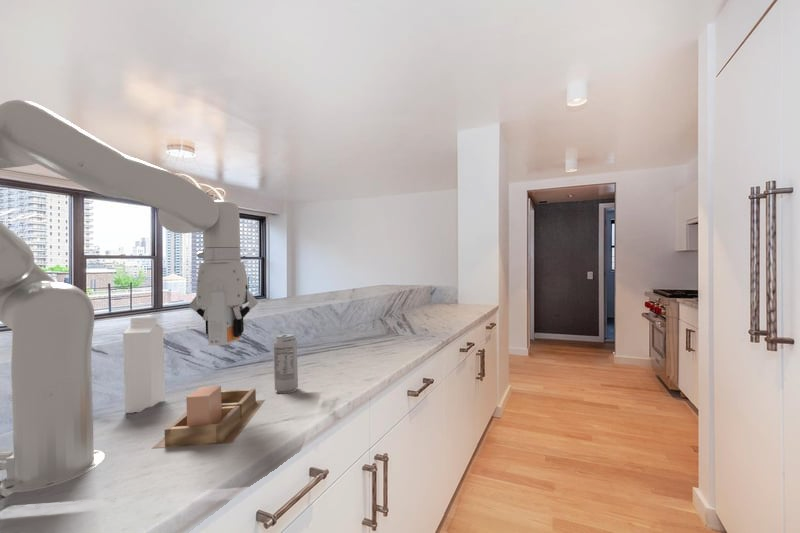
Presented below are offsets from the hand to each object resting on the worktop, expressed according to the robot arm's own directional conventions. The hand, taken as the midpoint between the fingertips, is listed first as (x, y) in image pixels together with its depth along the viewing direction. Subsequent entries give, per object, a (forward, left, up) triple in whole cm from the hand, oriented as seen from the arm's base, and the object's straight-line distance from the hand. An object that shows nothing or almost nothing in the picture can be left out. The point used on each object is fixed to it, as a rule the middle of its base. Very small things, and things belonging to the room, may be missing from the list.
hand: (225, 335), depth 84 cm
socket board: (0, -6, -18) cm, 19 cm away
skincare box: (0, 0, -2) cm, 2 cm away
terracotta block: (0, -11, -17) cm, 20 cm away
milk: (-22, +8, -18) cm, 30 cm away
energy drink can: (+10, +15, -18) cm, 26 cm away
